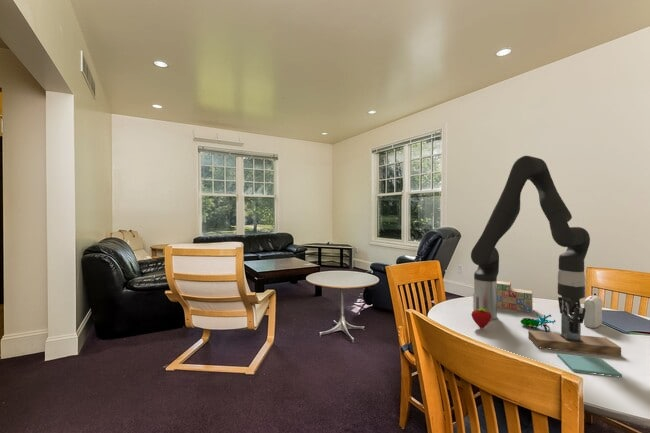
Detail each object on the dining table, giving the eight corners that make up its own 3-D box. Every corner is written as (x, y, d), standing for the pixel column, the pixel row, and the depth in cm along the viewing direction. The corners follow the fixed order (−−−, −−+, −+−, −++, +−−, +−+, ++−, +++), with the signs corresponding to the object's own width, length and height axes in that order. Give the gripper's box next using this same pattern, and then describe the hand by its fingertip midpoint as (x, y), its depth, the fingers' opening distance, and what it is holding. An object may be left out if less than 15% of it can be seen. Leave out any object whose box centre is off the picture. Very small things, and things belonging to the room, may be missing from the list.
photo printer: (590, 320, 128) (590, 293, 128) (603, 323, 124) (603, 295, 124) (582, 326, 122) (582, 297, 122) (595, 329, 118) (595, 299, 118)
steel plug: (566, 345, 103) (566, 317, 102) (561, 340, 106) (561, 313, 106) (580, 346, 101) (580, 318, 101) (574, 341, 105) (574, 314, 105)
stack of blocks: (532, 309, 144) (532, 284, 144) (531, 313, 139) (531, 287, 139) (484, 301, 157) (484, 279, 157) (482, 304, 153) (481, 281, 152)
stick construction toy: (555, 322, 120) (551, 310, 117) (561, 337, 115) (557, 325, 112) (522, 325, 127) (517, 314, 123) (526, 339, 121) (521, 328, 118)
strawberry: (469, 324, 125) (469, 301, 125) (489, 326, 123) (489, 303, 123) (473, 330, 119) (473, 306, 119) (493, 331, 117) (493, 307, 117)
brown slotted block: (537, 347, 103) (537, 339, 103) (528, 338, 111) (528, 330, 111) (621, 356, 96) (621, 347, 96) (605, 345, 104) (605, 337, 104)
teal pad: (572, 371, 88) (572, 368, 88) (557, 355, 97) (557, 353, 97) (622, 377, 84) (622, 374, 84) (600, 360, 94) (600, 358, 94)
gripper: (549, 277, 111) (549, 322, 112) (568, 287, 98) (568, 337, 98) (573, 279, 109) (572, 324, 109) (595, 288, 96) (595, 340, 96)
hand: (570, 330), depth 104 cm, fingers closed on steel plug, 4 cm apart
